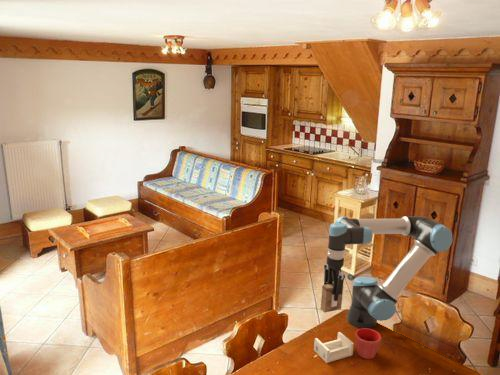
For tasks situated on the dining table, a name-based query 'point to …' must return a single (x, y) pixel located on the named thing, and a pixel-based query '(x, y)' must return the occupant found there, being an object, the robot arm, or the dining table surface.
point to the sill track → (334, 348)
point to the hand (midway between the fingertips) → (331, 303)
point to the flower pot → (367, 342)
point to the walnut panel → (329, 299)
